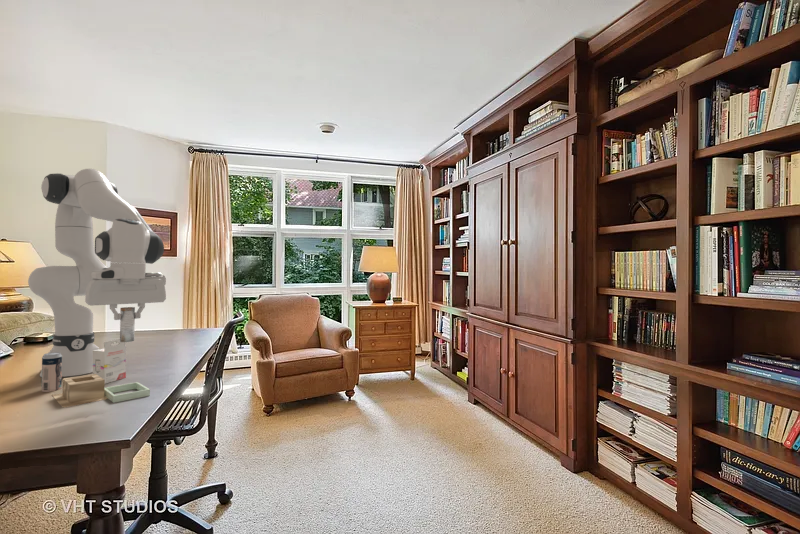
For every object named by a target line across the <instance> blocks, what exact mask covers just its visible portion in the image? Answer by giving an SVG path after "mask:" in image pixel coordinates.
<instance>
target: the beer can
mask: <svg viewBox="0 0 800 534" xmlns="http://www.w3.org/2000/svg"><path fill="white" fill-rule="evenodd" d="M41 371H42V377H41V392H42V393H43V392H46V393H47V392H48V393H49V392H55V391H59V390H61V389H62V385H63V377H62V355H61V354H60V353H44V354H43V356H42V357H41Z"/></svg>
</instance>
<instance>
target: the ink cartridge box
mask: <svg viewBox="0 0 800 534" xmlns="http://www.w3.org/2000/svg"><path fill="white" fill-rule="evenodd" d="M115 343H116V344H115ZM113 344H114V345H113ZM126 364H127V347H126V342H120V338H116V339H112V340H108V341H106V340H105V341H104V342H103V348H99V349H98V350H93V372H92V374H97V375H98V376H100V377H101V378H103V379H104V380H105V385H106V384H108V383H112V382H115V381H119V380H122V379H125V378H126V377H127V373H126V372H127V368H126V367H127V365H126Z"/></svg>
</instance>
